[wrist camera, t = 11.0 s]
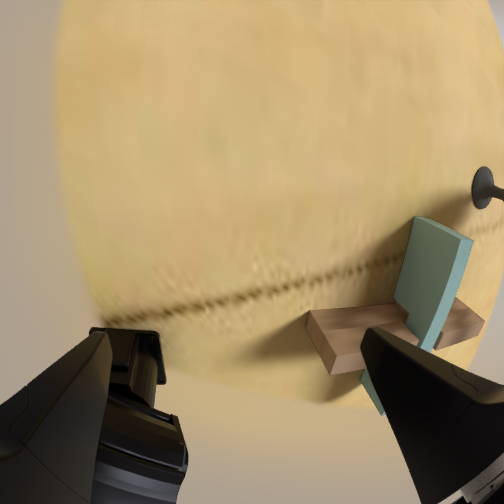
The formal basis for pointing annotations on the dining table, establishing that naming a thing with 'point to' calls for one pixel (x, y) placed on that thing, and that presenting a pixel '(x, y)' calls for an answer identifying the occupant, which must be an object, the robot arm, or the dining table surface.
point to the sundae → (485, 188)
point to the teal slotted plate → (428, 283)
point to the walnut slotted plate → (385, 317)
